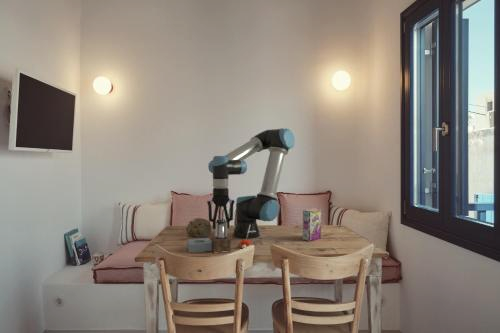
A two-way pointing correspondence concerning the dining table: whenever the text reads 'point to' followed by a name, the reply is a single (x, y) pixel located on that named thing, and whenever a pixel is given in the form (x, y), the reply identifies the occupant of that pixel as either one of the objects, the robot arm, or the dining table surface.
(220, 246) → the mount
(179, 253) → the dining table surface
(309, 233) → the candy bar box
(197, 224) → the rock
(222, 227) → the lock pin
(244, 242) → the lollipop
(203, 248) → the dock
